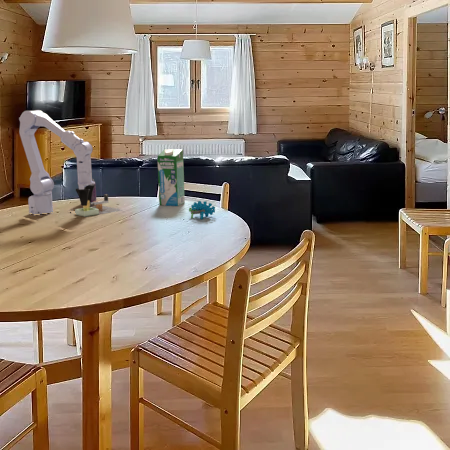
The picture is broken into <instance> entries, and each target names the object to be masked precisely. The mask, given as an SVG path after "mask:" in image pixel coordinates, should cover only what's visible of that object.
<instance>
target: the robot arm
mask: <svg viewBox="0 0 450 450" xmlns="http://www.w3.org/2000/svg"><path fill="white" fill-rule="evenodd" d="M18 120H19V132H18V133H19V137H20V140H21V144H22V146H23V149H24V153H25V156H26V159H27V161H28V162H27V163H28V166H29V168H30V172H31V174H30V178H29V181H30V185H29V189H30V191H31V192H32V194H33V195H31V196H29V197H28V198H27V199H28V200H27V201H28V204H27V205H28V212H29V213H32V214H42V213H51V212H53V213H54V207H53V194H52V192H53V190H54V187H55V183H54V180H53V179H52V178H51V176H50V173H49V172H47V171H46V170H45V167H44V163H43V160H42V157H41V153H40V150H39V148H38V147H39V146H38V144H37V140H36V137H35V133H36V132H37V130H38V128H40V127H45V128H46V129H47V130H49V131H50V132H52V133H53V134H55V135H56V136H58V137H59V138H60V142H61V143H63V144H64V145H65V146H66V147H67V148H69V149H70V150H72V152H73V153H74V155H75V157H76V169H77V171H76V172H77V185H78V187H77V188H75V192H76V194H77V195H78V199H79V201H80V205H81V207H83V206H87V202H88V200H89V201H90V202H91V199H92V193H93V189H94V187H95V185H96V181H94V182H92V179H93V177H92V175H93V174H92V171H93V170H92V158H91V156H92V153H93V150H94V149H93V146H92V144H91V143H90V141H84V139H83V138H80V137H79V136H77V135H76V134H75V132H74V131H73V130H72V131H71V130H65V129H63V128H62V127H61V126H60V124H58V123H56V122H55V120H53V119H52V118H51V117H50V116H49V115H48V114H47V113H45V112H43V111H42V110H40V109H35V110H24V111H23V112H22V113H21V115H20V117H18ZM91 184H95V185H91ZM29 213H28V214H29ZM51 214H52V213H51Z"/></svg>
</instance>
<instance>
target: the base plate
mask: <svg viewBox="0 0 450 450" xmlns="http://www.w3.org/2000/svg"><path fill="white" fill-rule="evenodd" d="M96 201H97V200H96ZM96 201H93V202H96ZM90 207H92V208H96V209H99V214H98V215H104V214H110V213H115V212H121V211H123V209H119V208H114V207H110V206H106V205H103V204H97V205H93V206H90ZM98 215H97V216H98ZM93 216H94V217H95V215H92V216H91V217H93ZM87 217H88V218H89V217H90V216H86V217H85V218H87Z"/></svg>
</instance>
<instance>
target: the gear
mask: <svg viewBox="0 0 450 450" xmlns="http://www.w3.org/2000/svg"><path fill="white" fill-rule="evenodd" d="M188 212H190V214H191V215H190V219H194V215H199V216H200V220H203V219H204V215H205V217H208V216H209V215H210V216H212V215H214V213H215V212H216V207H215V205H213V204H212V203H211V202H209V203H208V204H207V201H205V200H204V201H203V203H202V201H201V200H198V201H197V202H196V201H195V202H193V204H191V207H189V208H188Z"/></svg>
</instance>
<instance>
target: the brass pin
mask: <svg viewBox="0 0 450 450" xmlns="http://www.w3.org/2000/svg"><path fill="white" fill-rule="evenodd" d="M82 208H83V211H89V210H90V201H89V200H88V202H87V206H82Z"/></svg>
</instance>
